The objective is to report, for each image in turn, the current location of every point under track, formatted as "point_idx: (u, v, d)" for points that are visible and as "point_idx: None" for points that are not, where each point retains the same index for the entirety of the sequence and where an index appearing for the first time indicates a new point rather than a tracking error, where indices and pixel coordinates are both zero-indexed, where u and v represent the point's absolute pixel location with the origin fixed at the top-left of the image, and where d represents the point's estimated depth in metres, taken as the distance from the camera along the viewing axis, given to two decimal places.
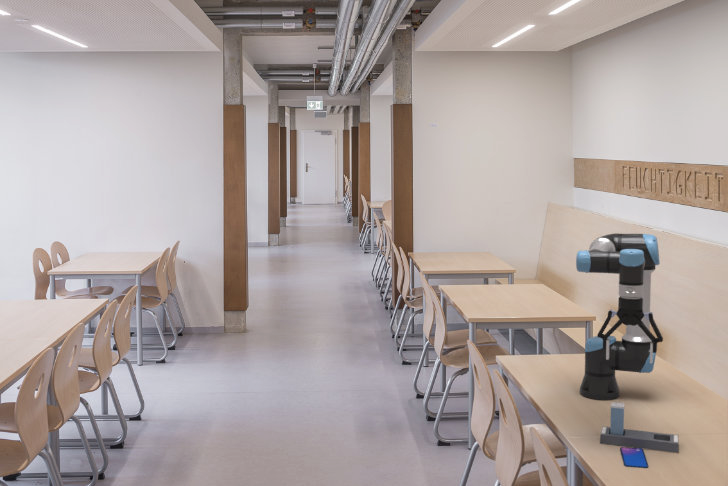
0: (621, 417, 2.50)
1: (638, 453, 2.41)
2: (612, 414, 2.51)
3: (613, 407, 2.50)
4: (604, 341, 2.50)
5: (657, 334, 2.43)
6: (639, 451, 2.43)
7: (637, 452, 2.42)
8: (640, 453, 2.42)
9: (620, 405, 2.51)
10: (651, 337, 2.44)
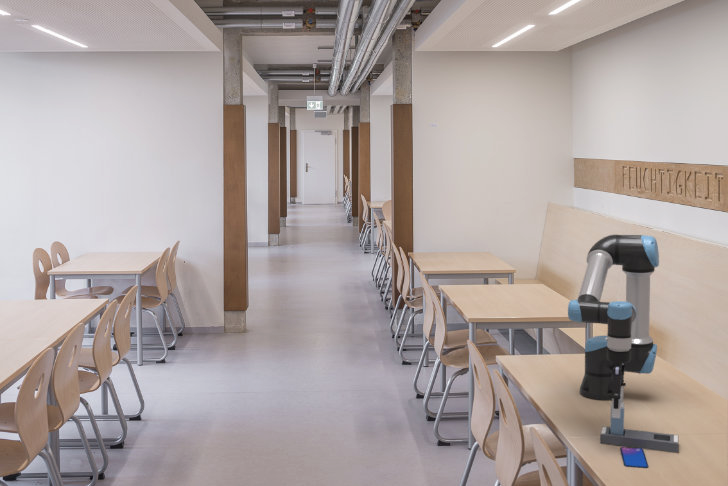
0: (621, 417, 2.50)
1: (638, 453, 2.41)
2: None
3: None
4: None
5: (612, 389, 2.43)
6: (639, 451, 2.43)
7: (637, 452, 2.42)
8: (640, 453, 2.42)
9: None
10: None
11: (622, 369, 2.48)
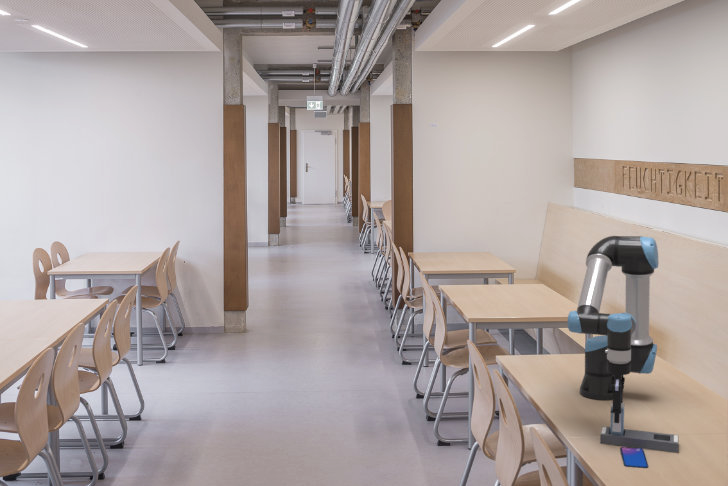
0: (621, 417, 2.50)
1: (638, 453, 2.41)
2: (612, 414, 2.51)
3: None
4: None
5: None
6: (639, 451, 2.43)
7: (637, 452, 2.42)
8: (640, 453, 2.42)
9: None
10: None
11: (622, 382, 2.49)
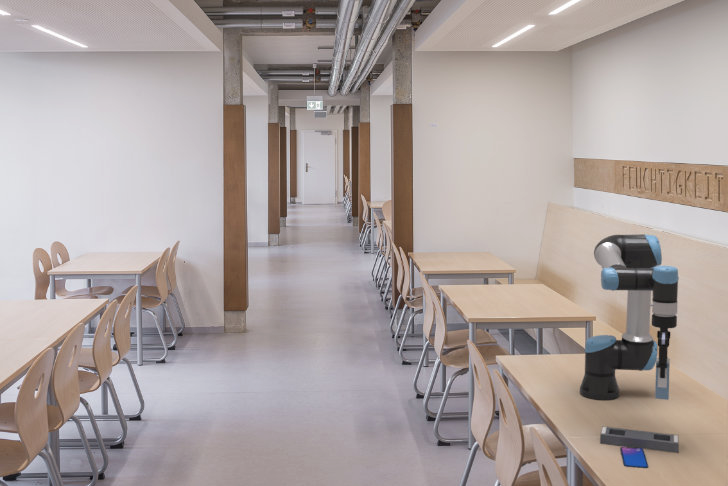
0: (667, 372, 2.43)
1: (638, 453, 2.41)
2: (657, 369, 2.44)
3: (658, 362, 2.43)
4: None
5: None
6: (639, 451, 2.43)
7: (637, 452, 2.42)
8: (640, 453, 2.42)
9: None
10: None
11: (668, 336, 2.41)
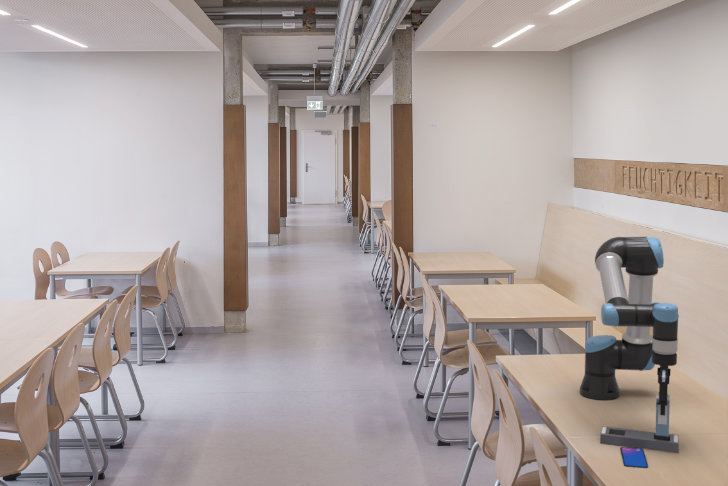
0: (667, 409, 2.44)
1: (638, 453, 2.41)
2: None
3: None
4: None
5: (659, 396, 2.42)
6: (639, 451, 2.43)
7: (637, 452, 2.42)
8: (640, 453, 2.42)
9: None
10: None
11: (668, 373, 2.43)
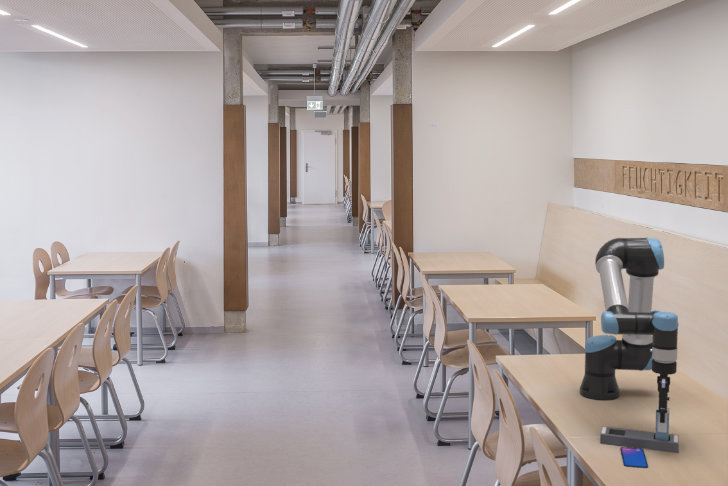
0: (667, 422, 2.45)
1: (638, 453, 2.41)
2: (657, 419, 2.46)
3: None
4: None
5: None
6: (639, 451, 2.43)
7: (637, 452, 2.42)
8: (640, 453, 2.42)
9: None
10: None
11: (668, 381, 2.43)
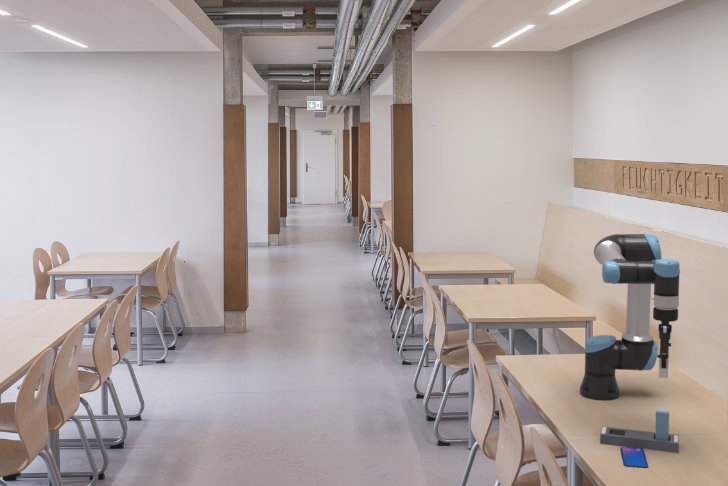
0: (667, 422, 2.45)
1: (638, 453, 2.41)
2: (657, 419, 2.46)
3: (658, 412, 2.45)
4: None
5: (660, 348, 2.38)
6: (639, 451, 2.43)
7: (637, 452, 2.42)
8: (640, 453, 2.42)
9: (665, 410, 2.46)
10: None
11: (669, 328, 2.42)
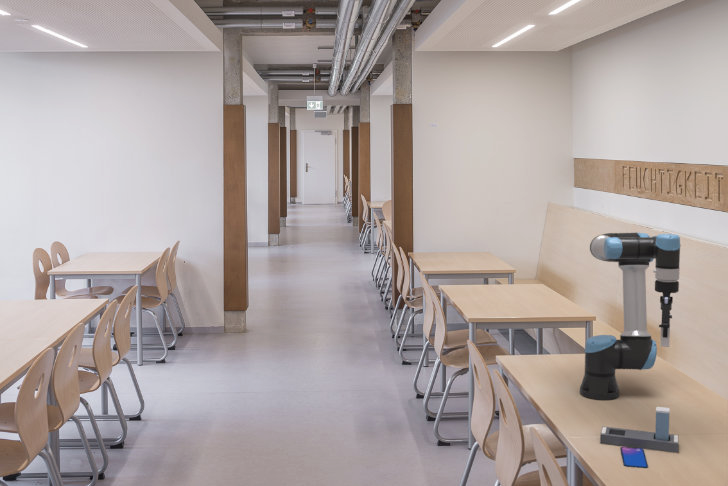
0: (667, 422, 2.45)
1: (638, 453, 2.41)
2: (657, 419, 2.46)
3: (658, 412, 2.45)
4: None
5: None
6: (639, 451, 2.43)
7: (637, 452, 2.42)
8: (640, 453, 2.41)
9: (665, 410, 2.45)
10: None
11: (670, 299, 2.53)
